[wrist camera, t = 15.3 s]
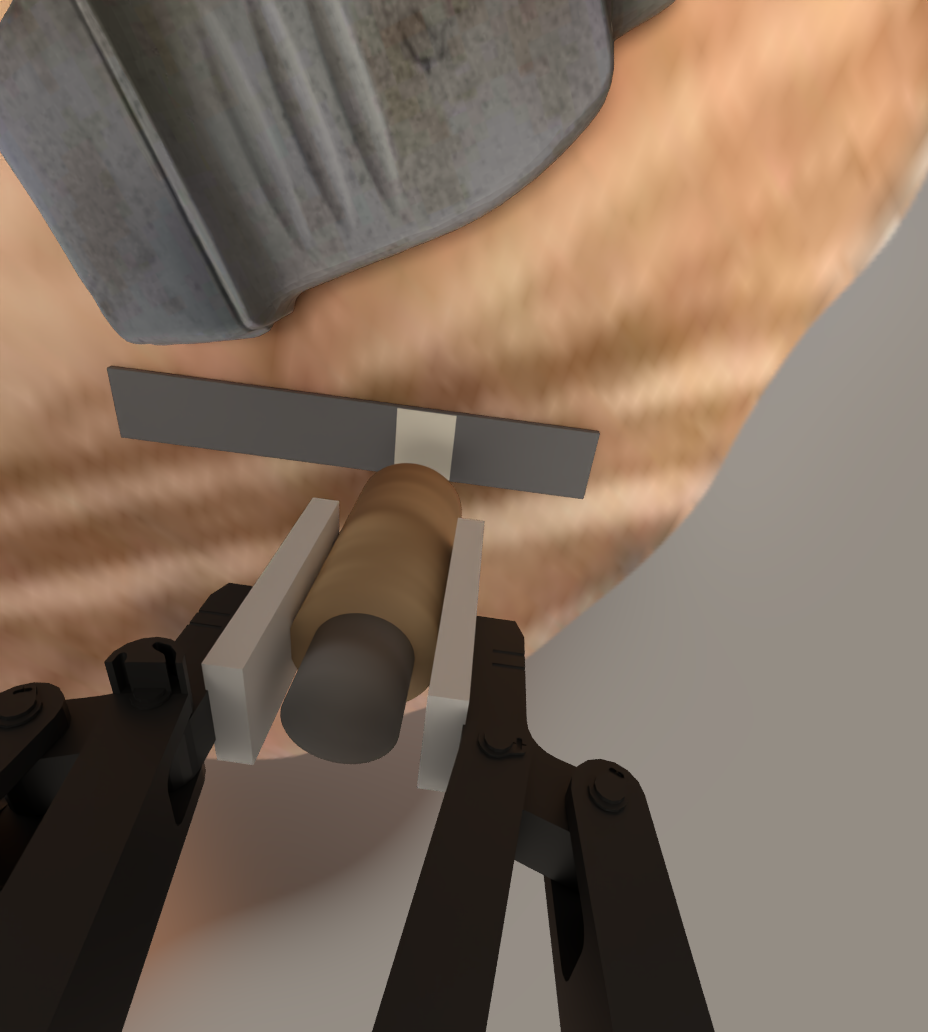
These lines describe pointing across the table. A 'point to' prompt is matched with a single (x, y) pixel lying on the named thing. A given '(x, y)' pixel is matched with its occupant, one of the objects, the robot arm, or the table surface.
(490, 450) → the strip
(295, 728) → the tan bottle
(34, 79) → the handheld device
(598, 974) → the robot arm
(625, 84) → the table surface
